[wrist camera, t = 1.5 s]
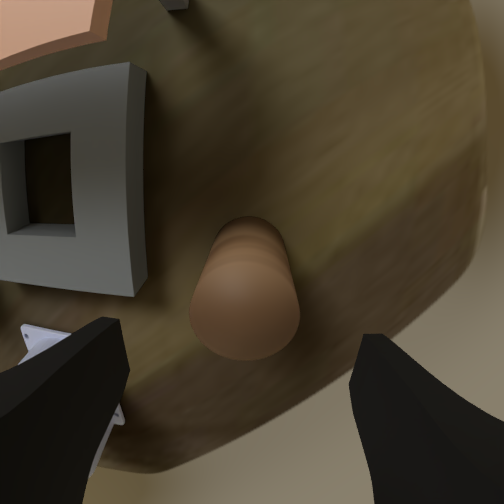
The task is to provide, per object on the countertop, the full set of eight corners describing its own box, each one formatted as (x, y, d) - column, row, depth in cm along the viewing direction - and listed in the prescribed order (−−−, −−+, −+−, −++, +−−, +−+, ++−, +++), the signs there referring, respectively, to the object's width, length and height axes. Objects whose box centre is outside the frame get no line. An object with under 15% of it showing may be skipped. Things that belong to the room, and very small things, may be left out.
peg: (281, 285, 19) (293, 362, 12) (213, 281, 19) (191, 356, 12) (287, 218, 17) (306, 269, 11) (213, 214, 17) (187, 263, 11)
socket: (147, 277, 18) (134, 296, 16) (8, 264, 18) (-12, 277, 16) (146, 71, 14) (129, 62, 12) (-4, 102, 14) (-28, 102, 12)
